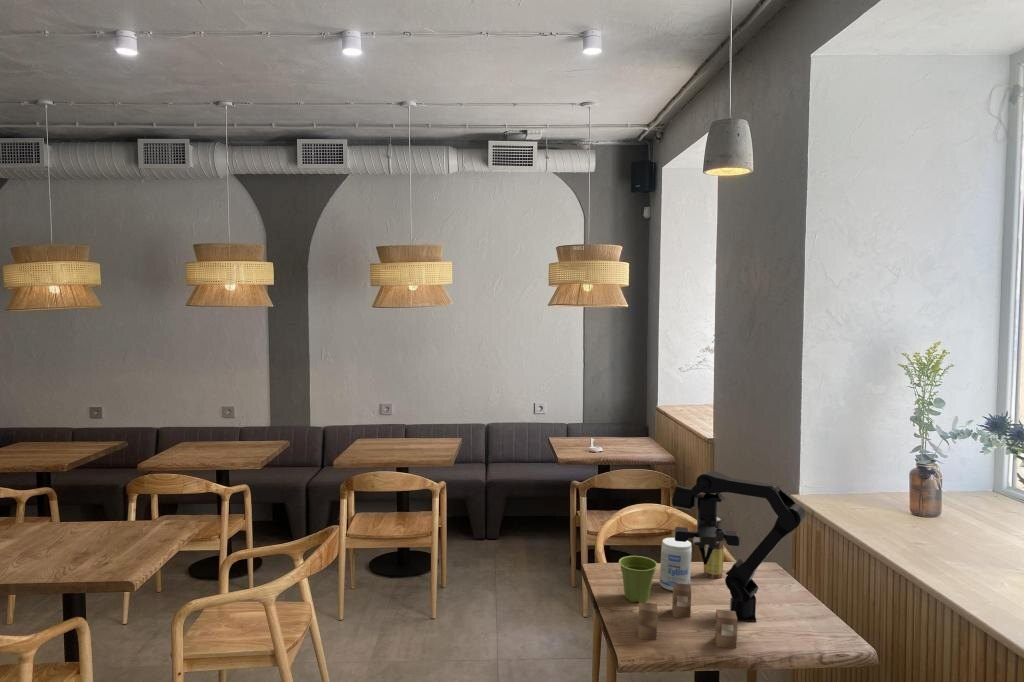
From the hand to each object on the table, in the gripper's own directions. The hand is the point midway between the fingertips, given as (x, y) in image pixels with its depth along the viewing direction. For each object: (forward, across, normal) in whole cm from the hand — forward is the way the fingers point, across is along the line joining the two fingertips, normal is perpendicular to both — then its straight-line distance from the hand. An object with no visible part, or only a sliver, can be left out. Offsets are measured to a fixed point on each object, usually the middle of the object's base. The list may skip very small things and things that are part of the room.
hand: (705, 563), depth 219 cm
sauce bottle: (+13, +5, +25) cm, 29 cm away
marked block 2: (+13, +4, -23) cm, 27 cm away
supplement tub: (+13, -8, +13) cm, 20 cm away
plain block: (+13, -17, -23) cm, 31 cm away
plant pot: (+13, -20, +1) cm, 24 cm away
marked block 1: (+13, -7, -7) cm, 16 cm away
